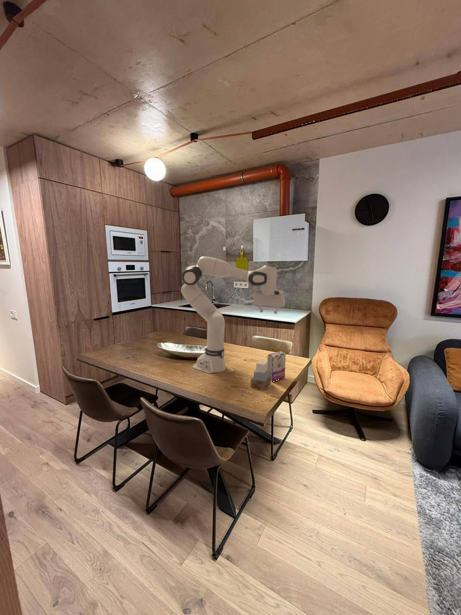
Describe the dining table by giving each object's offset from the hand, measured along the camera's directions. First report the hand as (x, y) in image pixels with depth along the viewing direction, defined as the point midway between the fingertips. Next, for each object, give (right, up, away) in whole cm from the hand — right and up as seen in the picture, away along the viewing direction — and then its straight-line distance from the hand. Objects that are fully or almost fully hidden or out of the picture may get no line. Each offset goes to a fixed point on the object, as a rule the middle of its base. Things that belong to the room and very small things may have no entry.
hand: (268, 312), depth 164 cm
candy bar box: (+4, -41, -5) cm, 41 cm away
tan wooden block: (-7, -42, -14) cm, 45 cm away
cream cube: (-6, -33, -16) cm, 37 cm away
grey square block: (-6, -37, -15) cm, 41 cm away
